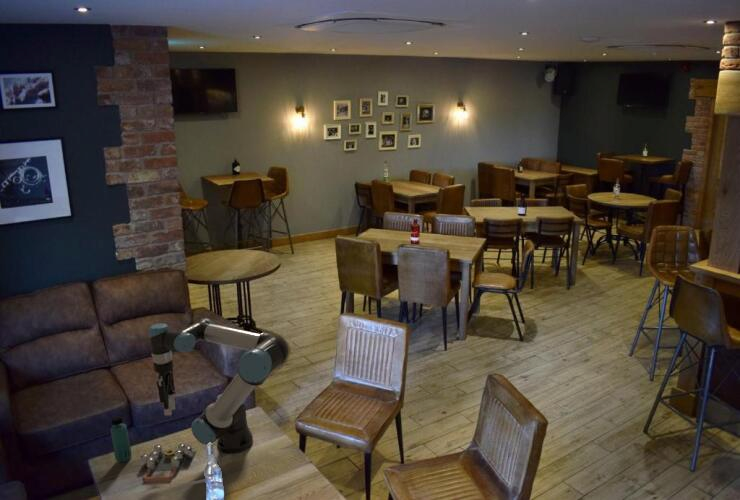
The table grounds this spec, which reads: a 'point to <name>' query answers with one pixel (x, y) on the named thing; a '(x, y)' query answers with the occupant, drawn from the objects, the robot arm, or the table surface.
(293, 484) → the table surface
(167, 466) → the mat
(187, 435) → the table surface
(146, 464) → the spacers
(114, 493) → the table surface
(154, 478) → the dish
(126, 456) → the beverage bottle
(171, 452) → the nut
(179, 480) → the table surface
